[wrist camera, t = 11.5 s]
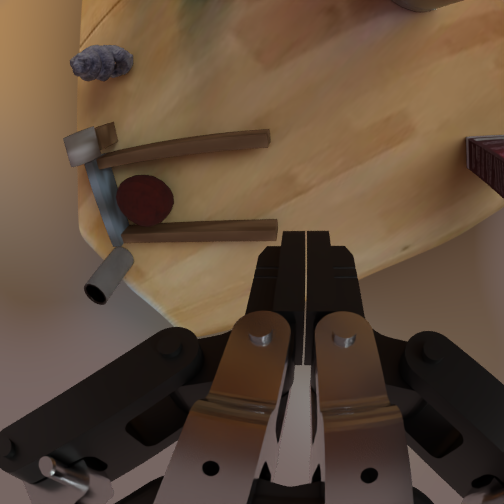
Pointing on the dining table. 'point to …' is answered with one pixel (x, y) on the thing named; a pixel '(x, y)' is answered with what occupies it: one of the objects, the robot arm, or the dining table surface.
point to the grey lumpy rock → (101, 62)
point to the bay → (99, 165)
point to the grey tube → (108, 275)
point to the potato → (144, 200)
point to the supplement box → (487, 160)
